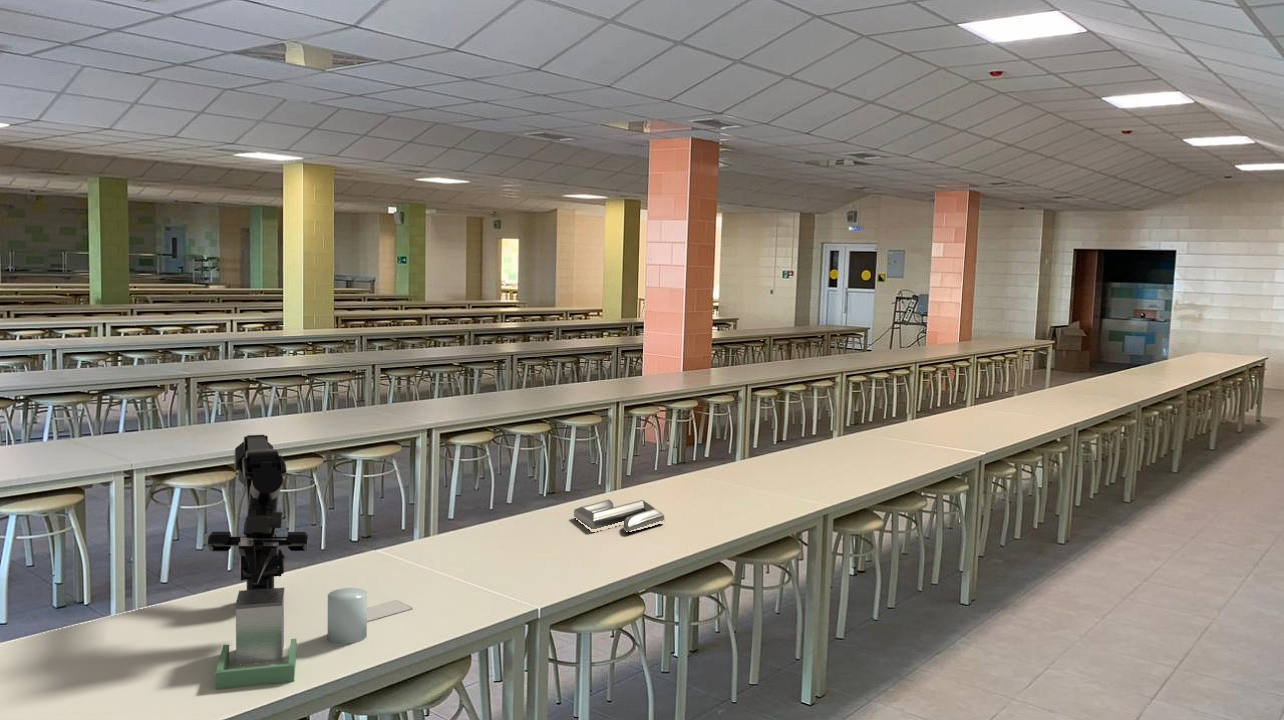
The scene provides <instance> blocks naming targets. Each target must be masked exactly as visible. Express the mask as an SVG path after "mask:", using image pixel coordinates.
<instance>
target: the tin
mask: <svg viewBox="0 0 1284 720" xmlns="http://www.w3.org/2000/svg"><path fill="white" fill-rule="evenodd" d="M237 593H238V594H237V596H236V597H237V598H236V601H235V605H234V610H235V661H236V662H235V665H238V666H243V665H242V664H249V665H255V664H254V663H259V664H267V663H266V662H269V663H277V662H278V661H280V662H283V657H282V656H284V655H283V654H284V649H283V648H284V646H285V587H274V588H270V589H256V590H247V589H245V590H244V589H243V590H239V591H238V592H237ZM276 661H277V662H276ZM278 663H279V662H278ZM240 664H241V665H240Z"/></svg>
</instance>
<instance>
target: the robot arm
mask: <svg viewBox="0 0 1284 720" xmlns="http://www.w3.org/2000/svg"><path fill="white" fill-rule="evenodd" d="M268 437H269V436H268V435H265V434H247V435H246V436H243V441H242V442H241V443H240V444H239V445H237V446H236V447H235V448H234V459H233V461H234V471H236V472H237V476H238V477H237V478H238V481H239V482H240V483H241V484H242V485H243V486H244V487H245V490H246V505H247V506H246V507H247V510H246V511H247V512H246V517H245V520H244V526H243V535H244V536H233V535H232V532H231V531H211V532H210V533H209V534H208V538H207V547H208V550H209V552H213V553H216V552H217V553H219V552H220V553H222V552H226V553H227V552H229V550H231V549H232V547H238V548H237V549H238V554H239V562H238V563H239V565H238V568H239V569H238V570H239V579H240V582H241V581H245V582H246V583H245V584H246V590H256V589H270V588H275V578H276V577H282V575H284V573H285V571H284V570H285V569H284V568H285V558H286V556H285V554H284V553H283V551H282V549H281V548H279V547H287V548H288V549H289V551H290V552H307V551H308V546H309V534H308V533H307V532H306V531H288V532H287V536H277V535H276V529H282V525H283V513H284V512H283V511H278V507H279V506H278V505H279V495H280V493H281V489H282V485H283V482H284V481H283V480H284V478H283V477H285V474H287V465H286V461H285V460H284V459H283V455H279V451H278V450H277V449H276V448H274V445H272V444H271V443H270V442H269V441H268V440H269V438H268Z"/></svg>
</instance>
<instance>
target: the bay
mask: <svg viewBox="0 0 1284 720" xmlns="http://www.w3.org/2000/svg"><path fill="white" fill-rule="evenodd" d="M289 644H290V646H289V654H288V663H280V664H279V663H278V664H272V665H271V664H270V665H269V664H268V665H261V666H259V665H258V666H250V667H239V668H229V669H228V666H229V662H230V644H223V646H222V648H221V652H220V656H219V660H218V663H217V666H216V669H215V675H214V676H215V690H221V689H230V688H231V689H232V688H243V687H251V686H259V685H260V686H261V685H270V684H279V683H280V684H282V683H291V682H294V681H295V674H296V673H295V672H296V665H297V638H291V639H290V643H289Z"/></svg>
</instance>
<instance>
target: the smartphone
mask: <svg viewBox="0 0 1284 720" xmlns="http://www.w3.org/2000/svg"><path fill="white" fill-rule="evenodd" d="M411 610H413V607H412V606H410V605H408V604H405V603H404V602H402V601H399V600H391V601H388V602H384V603H381V604H380V603H379V604H378V605H374V606H369V607H367V623H369V622H373V621H377V620H381V619H384V618H387V617H391V616H394V615H397V614H401V613H405V612H409V611H411Z"/></svg>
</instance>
